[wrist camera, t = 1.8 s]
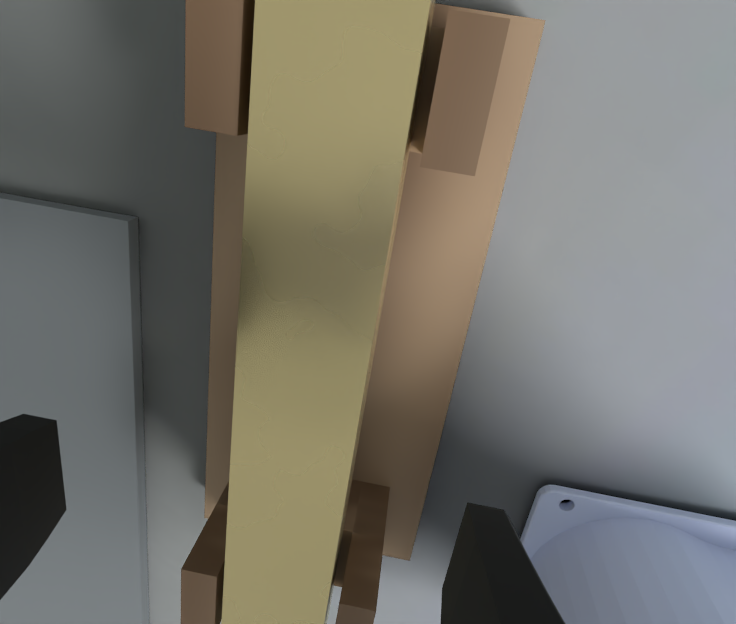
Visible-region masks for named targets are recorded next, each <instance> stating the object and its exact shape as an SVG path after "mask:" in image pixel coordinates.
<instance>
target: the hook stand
mask: <svg viewBox="0 0 736 624" xmlns="http://www.w3.org/2000/svg"><path fill="white" fill-rule="evenodd" d="M254 11H255V0H186V18H185V127H188V128H194V129H200V130H205V131H211V132H216V159H215V191H214V224H213V256H212V288H211V321H210V353H209V385H208V418H207V450H206V483H205V515H204V518H208V521H207V522H206V524H205V526H204V528H203V530H202V532H201V534H200V535H199V537H198V539H197V541H196V543H195V545H194V547H193V548H192V550H191V552H190V554H189V556H188V558H187V560H186V561H185V563H184V565H183V567H182V569H181V624H220V622H221V619H222V603H223V585H224V566H225V548H226V529H227V511H228V492H229V474H230V455H231V437H232V418H233V400H234V381H235V363H236V344H237V326H238V307H239V289H240V270H241V252H242V233H243V215H244V196H245V178H246V159H247V141H248V122H249V104H250V85H251V67H252V48H253V30H254ZM544 24H545V20H540V19H533V18H527V17H520V16H514V15H507V14H501V13H494V12H488V11H481V10H475V9H468V8H462V7H455V6H449V5H442V4H436V3H435V8H434V13H433V19H432V25H431V31H430V36H429V42H428V48H427V54H426V59H425V65H424V71H423V76H422V82H421V88H420V94H419V99H418V105H417V111H416V117H415V122H414V128H413V134H412V139H411V145H410V151H409V157H408V162H407V168H406V174H405V180H404V185H403V191H402V197H401V202H400V208H399V214H398V220H397V225H396V231H395V237H394V243H393V248H392V254H391V260H390V265H389V271H388V277H387V283H386V288H385V294H384V300H383V306H382V311H381V317H380V323H379V328H378V334H377V340H376V346H375V351H374V357H373V363H372V369H371V374H370V380H369V386H368V391H367V397H366V403H365V409H364V414H363V420H362V426H361V432H360V437H359V443H358V449H357V454H356V460H355V466H354V472H353V477H352V483H351V489H350V495H349V500H348V506H347V512H346V517H345V523H344V529H343V535H342V540H341V546H340V552H339V558H338V563H337V569H336V575H335V580H334V586H339V587H342V592H341V597H340V602H339V608H338V613H337V619H336V624H373V622H374V618H375V613H376V606H377V597H378V589H379V580H380V571H381V562H382V555H385V556H389V557H394V558H399V559H404V560H408V561H410V558H411V554H412V550H413V546H414V542H415V538H416V534H417V530H418V526H419V522H420V518H421V514H422V510H423V506H424V502H425V498H426V494H427V490H428V486H429V482H430V478H431V474H432V470H433V466H434V462H435V458H436V454H437V450H438V446H439V442H440V438H441V434H442V430H443V426H444V422H445V418H446V414H447V410H448V406H449V402H450V398H451V394H452V390H453V386H454V382H455V378H456V374H457V370H458V367H459V363H460V359H461V355H462V351H463V347H464V343H465V339H466V335H467V331H468V327H469V323H470V319H471V315H472V311H473V307H474V303H475V299H476V295H477V291H478V287H479V283H480V279H481V275H482V271H483V267H484V263H485V259H486V255H487V251H488V247H489V243H490V239H491V235H492V231H493V227H494V223H495V219H496V215H497V211H498V207H499V203H500V199H501V195H502V191H503V187H504V183H505V179H506V175H507V171H508V167H509V163H510V159H511V155H512V151H513V147H514V143H515V140H516V136H517V132H518V128H519V124H520V120H521V116H522V112H523V108H524V104H525V100H526V96H527V92H528V88H529V84H530V80H531V76H532V72H533V68H534V64H535V60H536V56H537V52H538V48H539V44H540V40H541V36H542V32H543V28H544Z"/></svg>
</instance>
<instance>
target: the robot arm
mask: <svg viewBox="0 0 736 624" xmlns="http://www.w3.org/2000/svg"><path fill="white" fill-rule="evenodd" d="M563 500H570V502H567V503H561V501H563ZM66 510H67V509H66V500H65V491H64V482H63V473H62V464H61V455H60V446H59V437H58V428H57V420H53V419H48V418H43V417H38V416H33V415H28V414H21V415H19V416H16V417H13V418H10V419H7V420H5V421H2V422H0V600H1V599H2V597H3V596H4V595H5V594H6V593H7V591H8V590H9V589H10V588H11V587H12V586H13V584H14V583H15V582H16V581H17V580H18V578H19V577H20V576H21V575H22V574H23V572H24V571H25V570H26V569H27V567H28V566H29V565H30V564H31V562H32V561H33V559H34V558H35V556H36V555H37V553H38V552H39V551H40V549H41V548H42V546H43V545H44V543H45V542H46V541H47V539H48V538H49V536H50V534H51V533H52V531H53V530H54V528H55V527H56V525H57V524H58V522H59V521H60V519H61V517H62V516H63V514H64V513H65V511H66ZM441 624H736V521H734V520H729V519H724V518H719V517H714V516H709V515H704V514H699V513H694V512H689V511H684V510H679V509H673V508H668V507H663V506H658V505H653V504H648V503H643V502H638V501H633V500H628V499H623V498H618V497H613V496H608V495H603V494H598V493H593V492H588V491H583V490H578V489H573V488H568V487H563V486H558V485H546V486H543V487H542V488H540V489H539V490H538V492H537V494H536V497H535V500H534V502H533V505H532V508H531V511H530V514H529V516H528V519H527V522H526V525H525V527H524V530H523V533H522V536H521V538H520V539H519V537H518V535H517V533H516V531H515V529H514V527H513V525H512V523H511V521H510V519H509V517H508V515H507V514H506V512H505V511H504V510H501V509H497V508H492V507H487V506H482V505H477V504H472V503H467V506H466V510H465V513H464V516H463V520H462V523H461V526H460V530H459V533H458V537H457V540H456V543H455V547H454V550H453V554H452V557H451V560H450V564H449V567H448V570H447V574H446V577H445V581H444V584H443V587H442V607H441Z"/></svg>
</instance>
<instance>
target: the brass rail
mask: <svg viewBox="0 0 736 624" xmlns="http://www.w3.org/2000/svg"><path fill="white" fill-rule="evenodd" d="M435 2H436V0H255V11H254V30H253V48H252V67H251V85H250V104H249V122H248V141H247V159H246V178H245V196H244V215H243V233H242V252H241V270H240V289H239V307H238V326H237V344H236V363H235V381H234V400H233V418H232V437H231V455H230V474H229V492H228V511H227V529H226V548H225V566H224V585H223V603H222V622H221V624H327V619H328V614H329V609H330V603H331V598H332V592H333V586H334V580H335V575H336V569H337V563H338V558H339V552H340V546H341V540H342V535H343V529H344V523H345V517H346V512H347V506H348V500H349V495H350V489H351V483H352V477H353V472H354V466H355V460H356V454H357V449H358V443H359V437H360V432H361V426H362V420H363V414H364V409H365V403H366V397H367V391H368V386H369V380H370V374H371V369H372V363H373V357H374V351H375V346H376V340H377V334H378V328H379V323H380V317H381V311H382V306H383V300H384V294H385V288H386V283H387V277H388V271H389V265H390V260H391V254H392V248H393V243H394V237H395V231H396V225H397V220H398V214H399V208H400V202H401V197H402V191H403V185H404V180H405V174H406V168H407V162H408V157H409V151H410V145H411V139H412V134H413V128H414V122H415V117H416V111H417V105H418V99H419V94H420V88H421V82H422V76H423V71H424V65H425V59H426V54H427V48H428V42H429V36H430V31H431V25H432V19H433V13H434V8H435Z"/></svg>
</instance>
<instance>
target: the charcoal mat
mask: <svg viewBox="0 0 736 624" xmlns="http://www.w3.org/2000/svg"><path fill="white" fill-rule="evenodd" d="M21 414H28V415H33V416H38V417H43V418H48V419H53V420H57V428H58V437H59V446H60V455H61V464H62V473H63V482H64V491H65V500H66V509H67V510H66V511H65V513H64V514H63V516H62V517H61V519H60V521H59V522H58V524H57V525H56V527H55V528H54V530H53V531H52V533H51V534H50V536H49V538H48V539H47V541H46V542H45V543H44V545H43V546H42V548H41V549H40V551H39V552H38V553H37V555H36V556H35V558H34V559H33V561H32V562H31V564H30V565H29V566H28V567H27V569H26V570H25V571H24V572H23V574H22V575H21V576H20V577H19V578H18V580H17V581H16V582H15V583H14V584H13V586H12V587H11V588H10V589H9V590H8V591H7V593H6V594H5V595H4V596H3V597H2V599H1V600H0V624H149V588H148V553H147V517H146V482H145V446H144V410H143V375H142V339H141V304H140V268H139V233H138V217H134V216H128V215H123V214H117V213H112V212H106V211H101V210H95V209H90V208H84V207H78V206H73V205H67V204H62V203H56V202H51V201H45V200H40V199H34V198H28V197H23V196H17V195H12V194H6V193H1V192H0V422H2V421H5V420H7V419H10V418H13V417H16V416H19V415H21Z"/></svg>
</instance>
